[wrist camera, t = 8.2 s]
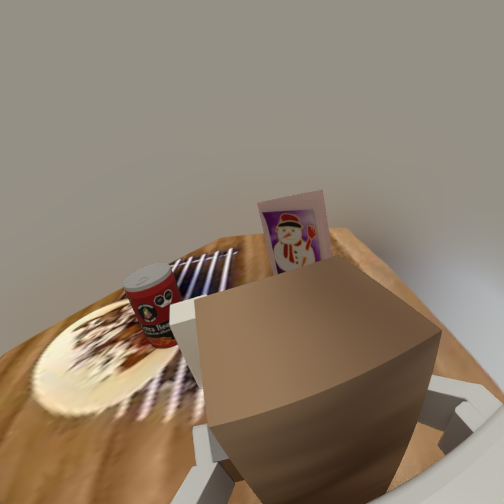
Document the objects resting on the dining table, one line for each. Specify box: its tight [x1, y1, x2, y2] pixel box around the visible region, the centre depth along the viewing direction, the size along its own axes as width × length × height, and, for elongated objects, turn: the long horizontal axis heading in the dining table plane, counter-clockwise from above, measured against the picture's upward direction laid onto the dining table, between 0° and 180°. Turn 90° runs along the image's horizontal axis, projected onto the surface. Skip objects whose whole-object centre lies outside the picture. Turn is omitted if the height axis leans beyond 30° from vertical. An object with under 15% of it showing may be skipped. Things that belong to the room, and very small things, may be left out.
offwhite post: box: [169, 294, 207, 389], centre depth 32 cm, size 4×4×10 cm
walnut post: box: [194, 255, 442, 504], centre depth 8 cm, size 4×4×10 cm
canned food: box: [123, 263, 183, 348], centre depth 43 cm, size 8×8×11 cm
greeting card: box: [258, 190, 332, 276], centre depth 50 cm, size 11×7×15 cm, turn 55°
